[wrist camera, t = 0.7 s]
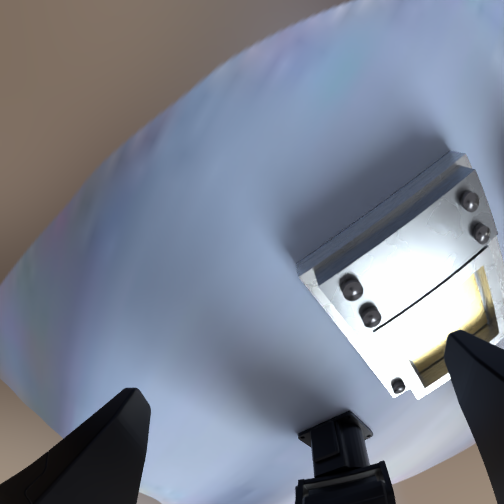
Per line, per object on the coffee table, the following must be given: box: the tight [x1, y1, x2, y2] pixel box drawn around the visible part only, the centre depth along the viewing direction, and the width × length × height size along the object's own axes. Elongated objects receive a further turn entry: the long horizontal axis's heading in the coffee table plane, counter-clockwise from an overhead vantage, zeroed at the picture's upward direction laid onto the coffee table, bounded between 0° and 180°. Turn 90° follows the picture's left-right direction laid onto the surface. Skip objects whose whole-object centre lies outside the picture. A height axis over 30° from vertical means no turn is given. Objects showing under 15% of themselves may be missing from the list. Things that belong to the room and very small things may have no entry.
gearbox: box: [296, 151, 504, 400], centre depth 19 cm, size 16×14×5 cm
